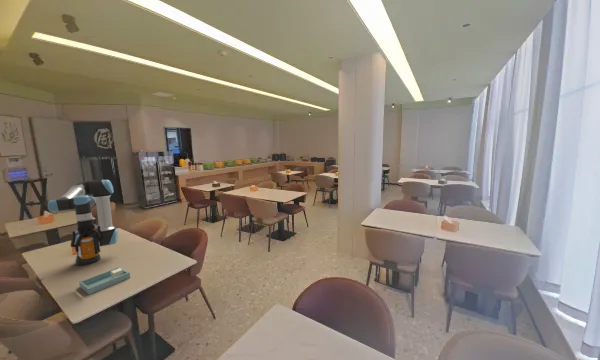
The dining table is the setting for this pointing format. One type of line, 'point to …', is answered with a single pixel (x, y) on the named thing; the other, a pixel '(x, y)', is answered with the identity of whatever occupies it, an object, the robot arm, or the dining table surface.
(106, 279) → the teal tray
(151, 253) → the dining table surface
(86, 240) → the canister
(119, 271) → the cream cube
